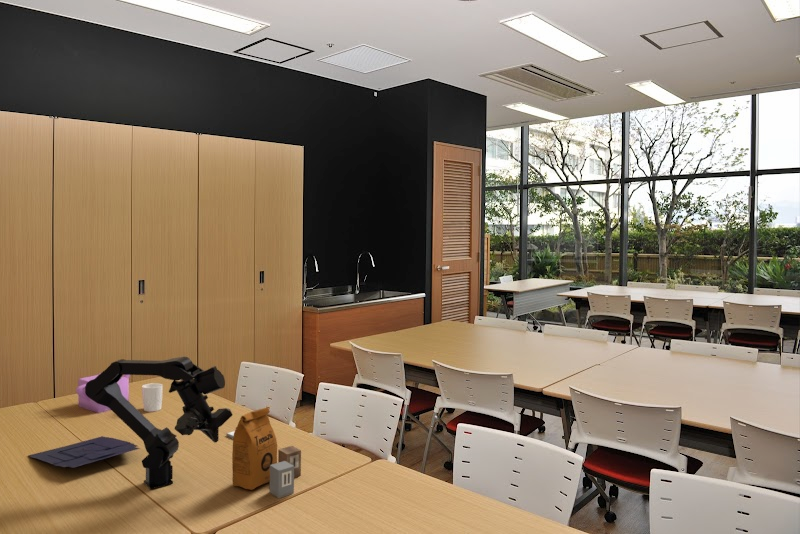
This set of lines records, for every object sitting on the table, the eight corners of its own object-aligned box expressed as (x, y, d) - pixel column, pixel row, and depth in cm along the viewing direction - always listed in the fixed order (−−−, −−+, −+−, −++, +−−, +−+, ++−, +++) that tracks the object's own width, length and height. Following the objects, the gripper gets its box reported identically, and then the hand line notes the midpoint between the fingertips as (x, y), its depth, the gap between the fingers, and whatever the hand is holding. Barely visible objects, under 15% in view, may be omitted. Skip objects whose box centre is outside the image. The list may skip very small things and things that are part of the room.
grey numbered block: (279, 498, 165) (279, 471, 164) (269, 492, 169) (269, 464, 168) (294, 493, 168) (294, 466, 168) (284, 487, 172) (285, 460, 172)
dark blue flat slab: (66, 479, 171) (66, 466, 172) (27, 464, 190) (26, 452, 190) (146, 455, 191) (145, 444, 191) (103, 443, 209) (102, 433, 209)
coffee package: (282, 480, 177) (283, 408, 176) (250, 494, 167) (251, 419, 165) (259, 471, 183) (260, 402, 181) (227, 485, 172) (227, 412, 171)
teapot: (144, 401, 252) (144, 369, 251) (86, 416, 231) (86, 381, 230) (123, 395, 260) (123, 364, 259) (66, 409, 239) (66, 375, 238)
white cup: (158, 412, 238) (157, 388, 237) (138, 412, 238) (138, 387, 237) (166, 406, 245) (165, 383, 245) (147, 406, 246) (147, 382, 245)
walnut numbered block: (287, 480, 177) (287, 454, 176) (278, 474, 181) (278, 449, 180) (301, 476, 180) (301, 450, 180) (292, 470, 184) (292, 445, 184)
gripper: (152, 416, 170) (177, 459, 174) (193, 414, 160) (219, 460, 164) (180, 393, 178) (203, 435, 183) (221, 390, 169) (244, 434, 173)
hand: (216, 441), depth 175 cm, fingers closed
